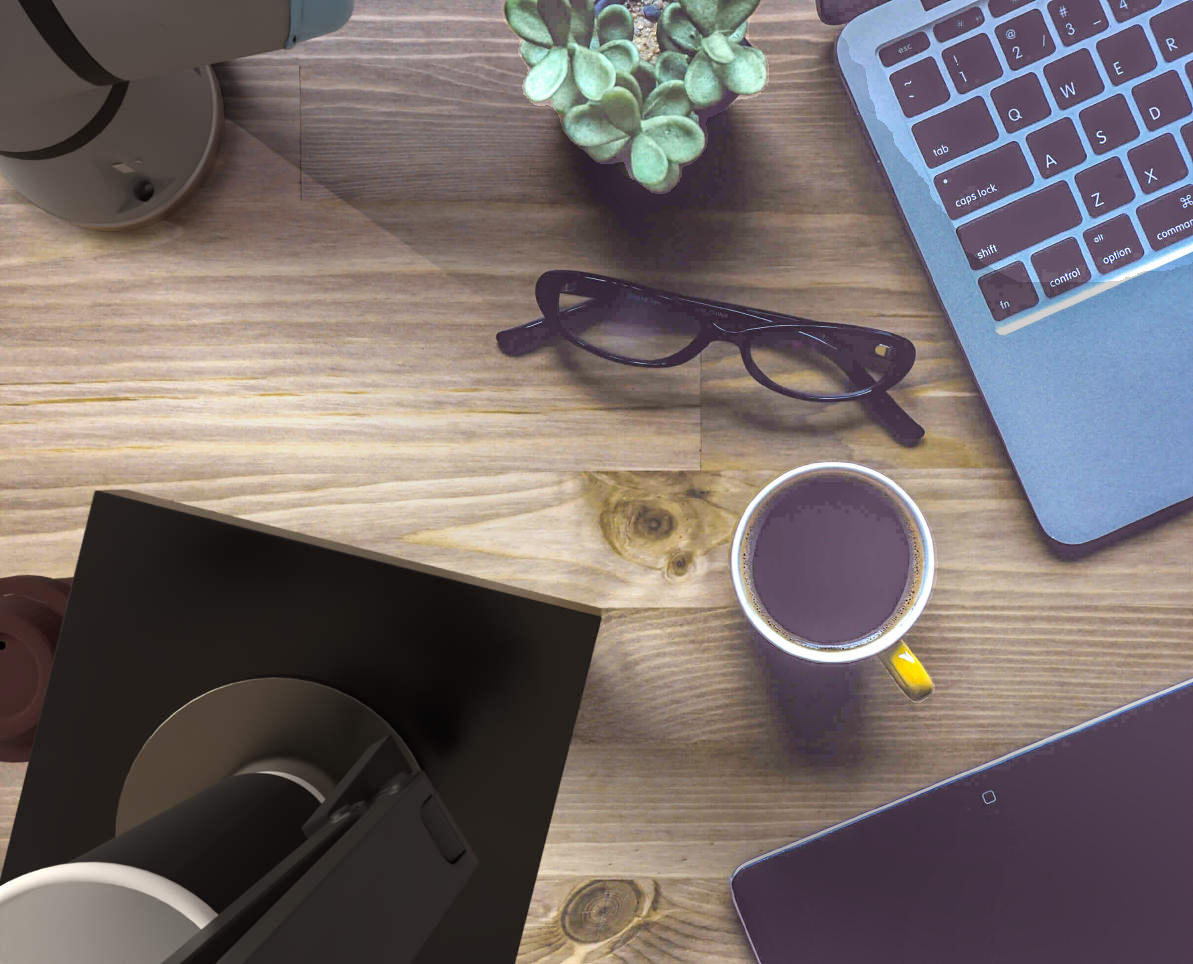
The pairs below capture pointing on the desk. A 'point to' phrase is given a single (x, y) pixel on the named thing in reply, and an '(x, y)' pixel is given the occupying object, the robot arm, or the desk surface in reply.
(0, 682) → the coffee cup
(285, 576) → the stove
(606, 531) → the desk surface
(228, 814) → the dixie cup
